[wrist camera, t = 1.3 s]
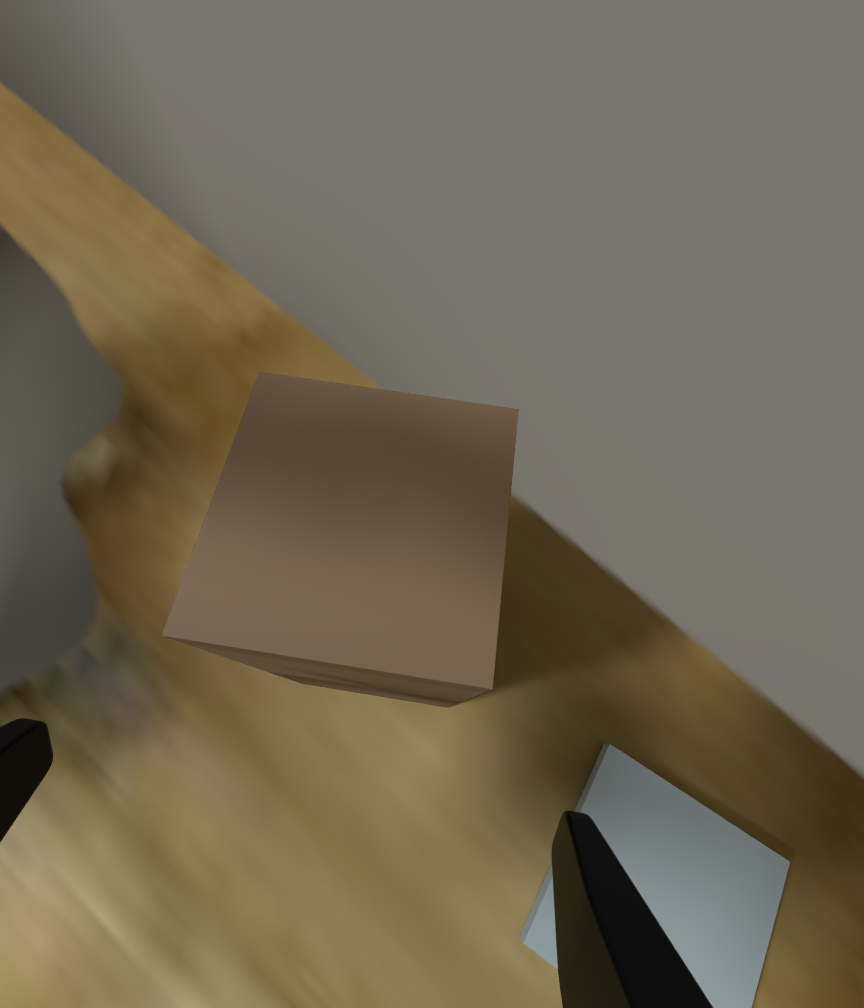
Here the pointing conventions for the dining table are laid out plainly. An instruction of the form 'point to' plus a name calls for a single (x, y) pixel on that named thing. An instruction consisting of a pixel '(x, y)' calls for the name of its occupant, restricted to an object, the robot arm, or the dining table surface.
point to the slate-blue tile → (680, 877)
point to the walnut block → (356, 541)
